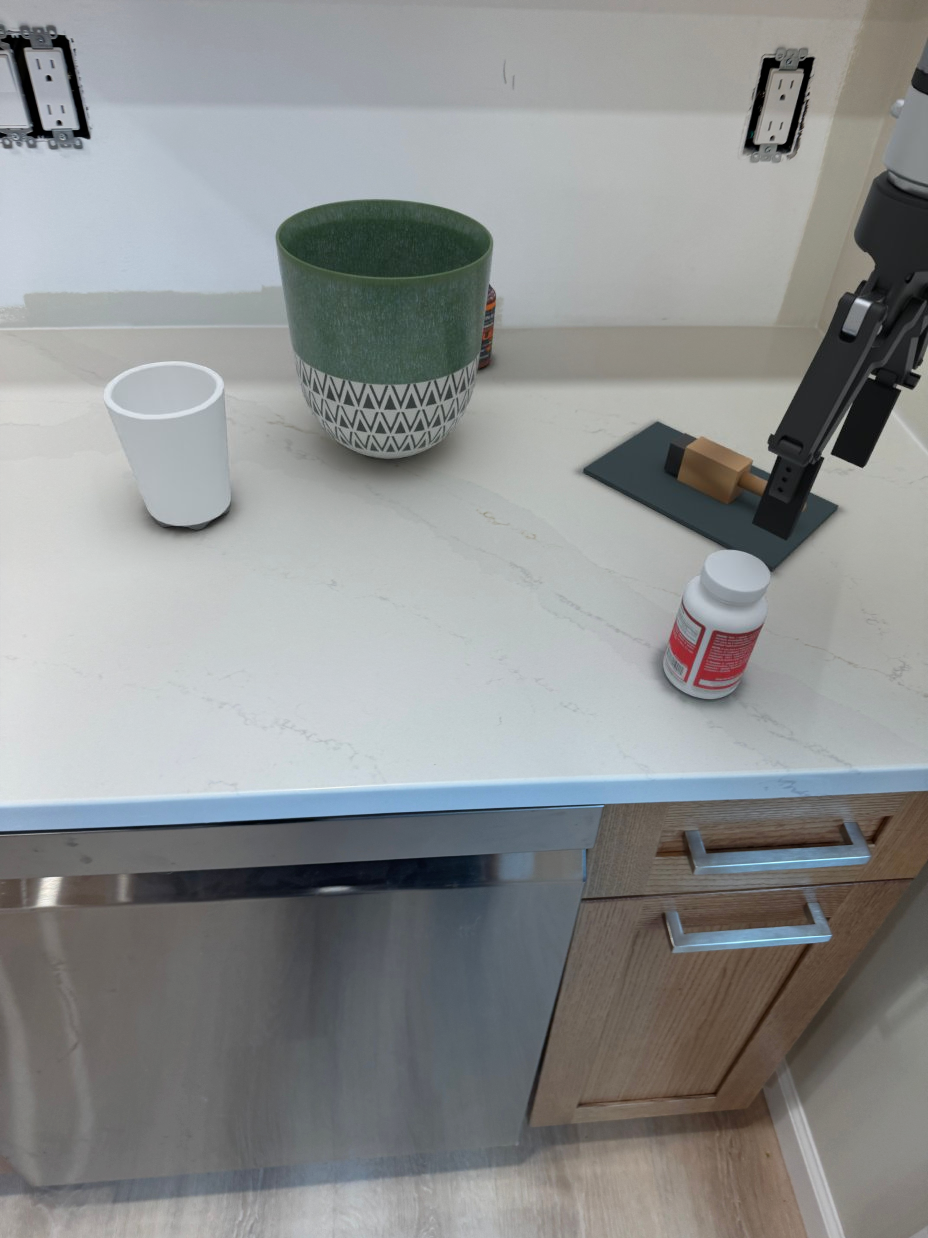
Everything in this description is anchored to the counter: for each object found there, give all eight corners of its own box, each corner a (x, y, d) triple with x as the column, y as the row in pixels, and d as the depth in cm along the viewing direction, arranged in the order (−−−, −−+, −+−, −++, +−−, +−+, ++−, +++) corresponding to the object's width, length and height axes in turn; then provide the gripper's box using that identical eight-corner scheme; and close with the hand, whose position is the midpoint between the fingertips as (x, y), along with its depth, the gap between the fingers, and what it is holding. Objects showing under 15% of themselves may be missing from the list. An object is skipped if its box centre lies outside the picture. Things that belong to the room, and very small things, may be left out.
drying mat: (837, 509, 84) (838, 505, 83) (771, 571, 76) (773, 567, 76) (656, 424, 94) (657, 420, 94) (582, 471, 86) (583, 467, 86)
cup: (147, 551, 74) (111, 427, 65) (128, 491, 80) (94, 370, 71) (256, 526, 77) (236, 405, 68) (230, 470, 83) (209, 352, 74)
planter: (301, 395, 95) (282, 196, 80) (469, 395, 96) (481, 200, 82) (291, 495, 81) (266, 276, 66) (487, 493, 83) (506, 280, 68)
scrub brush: (803, 522, 81) (817, 489, 78) (789, 536, 79) (803, 502, 76) (677, 461, 88) (686, 428, 85) (662, 472, 86) (670, 439, 83)
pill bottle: (749, 668, 67) (794, 565, 59) (720, 714, 63) (763, 611, 56) (680, 634, 69) (714, 531, 62) (648, 677, 66) (680, 573, 58)
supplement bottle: (479, 376, 100) (485, 283, 92) (435, 364, 102) (438, 272, 94) (498, 356, 104) (506, 265, 96) (456, 345, 106) (460, 255, 98)
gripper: (954, 130, 55) (835, 414, 70) (785, 210, 41) (682, 540, 57) (1075, 158, 51) (921, 451, 66) (932, 255, 38) (781, 594, 53)
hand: (811, 492), depth 62 cm, fingers open, 12 cm apart
